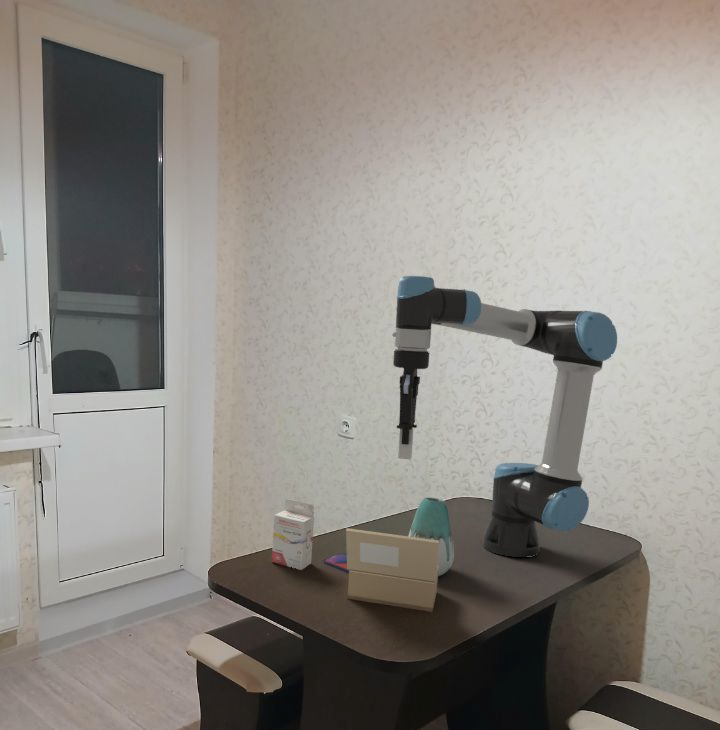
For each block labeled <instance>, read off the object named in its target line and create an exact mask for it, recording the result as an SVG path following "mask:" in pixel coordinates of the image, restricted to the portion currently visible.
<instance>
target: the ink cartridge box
mask: <svg viewBox="0 0 720 730" xmlns="http://www.w3.org/2000/svg"><path fill="white" fill-rule="evenodd" d="M296 506H300V507H303V508H299V507H296ZM314 508H315V506H314V504H312V503H309V502H306V501H305V502H304V501H299V500H295V499H291V498H285V501H284V509H283V510H282V511H280V512H278V513H275V514H274V519H273V520H274V521H273V534H272V546H271V547H272V551H271V563H275V564H278V565H282V566H283V567H284V566H285V567H288V568H291V567H292V568H291V569H295V568H296V569H295V570H299V571H303V570H304V569H305V568H306V567H308V566H309V565H311V563H312V555H313V554H312V553H313V540H314V527H315V526H314V524H315V517H314V514H315V513H314V510H315V509H314Z"/></svg>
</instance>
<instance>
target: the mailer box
mask: <svg viewBox="0 0 720 730" xmlns="http://www.w3.org/2000/svg"><path fill="white" fill-rule="evenodd" d="M438 567H439V566H438ZM438 578H439V576H438V568H437V581H438V580H439V579H438ZM347 586H348V587H347V600H353V601H358V602H359V601H361V602H365V603H366V602H367V603H371V604H372V603H373V604H378V605H385V606H392V607H399V608H404V609H411V610H416V611H417V610H418V611H422V612H429V613H433V611H434V608H435V607H434V606H435V601H436V596H437V591H438V582H437V583H436V582H435V583H431V582H424V581H417V580H410V579H404V578H397V577H390V576H383V575H376V574H370V573H363V572H356V571H349V573H348V585H347Z"/></svg>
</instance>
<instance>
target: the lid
mask: <svg viewBox="0 0 720 730" xmlns="http://www.w3.org/2000/svg"><path fill="white" fill-rule="evenodd" d="M345 538H346V539H345V544H346V545H345V546H346V555H347V569H348V570H349V571H356V572H363V573H370V574H376V575H383V576H390V577H397V578H404V579H410V580H417V581H424V582H431V583H435V582H436V583H437V584H438V580H437V568H438V547H439V541H438V540H431V539H423V538H416V537H408V535H401V534H393V533H392V534H391V533H385V532H377V531H371V530H363V529H362V530H361V529H355V528H349V527H346V529H345Z"/></svg>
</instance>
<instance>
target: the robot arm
mask: <svg viewBox="0 0 720 730" xmlns="http://www.w3.org/2000/svg"><path fill="white" fill-rule="evenodd" d="M397 287H398V288H397V294H396V314H395V315H396V319H395V332H393V333H392V337H394V338H395V339H394V346H395V347H396V349H395V350H394V351H393V366H394V367H395V368H399V369H400V368H402V369H403V372H402V375H401V376H400V377H399V390H400V391H399V418H398V419H399V421H398V424H397V425H396V429H399V439H398V457H397V459H402V460H411V459H412V457H413V456H412V455H413V444H414V443H413V439H414V429H417V428H418V424H415V422H416V411H417V410H416V408H417V396H418V395H419V394H418V393H419V384H421V383H420V382H421V376H418V370H426V369H428V368H429V366H430V365H429V362H430V352H429V351H428V350H429V349H430V348H431V339H432V338H431V337H432V325H437V326H441V327H445V328H451V329H456V330H461V331H466V332H470V333H476V334H481V335H487V336H491V337H497V338H500V339H506V340H510V341H512V343H513V344H514V345H516V346H519V347H525V348H527V349H531V350H533V351H534V350H535V351H536V352H537V351H538V352H541V353H544V354H548V355H552V356H553V357H552V362H553V364H554V365H555V367H556V369H557V372H556V373H557V374H556V377H555V378H556V379H555V383H554V384H555V385H554V389H553V394H552V395H553V396H552V402H551V405H550V406H551V407H550V412H549V417H548V418H549V419H548V425H547V430H546V437H545V442H544V447H543V454H542V459H541V463H540V464H535V463H525V462H506V463H500V464H498V465H497V466H495V469H494V470H495V471H494V476H493V486H492V503H491V516H490V519H489V521H488V522H487V523H488V524H487V525H486V528H485V530H484V533H483V535H482V542H481V543H482V547H483V548H484V547H485V548H484V549H486V550H487V551H489V552H491V553H493V554H495V553H496V554H495V555H498V554H500V555H499V556H502V555H505V556H504V557H507V556H514V557H527V556H533V555H536V554H538V553H539V551H540V552H541V542H540V541H541V540H540V537H539V533H538V529H537V524H536V523H539V524H541V525H543V526H544V527H545V528H548V529H553V530H555V531H558V532H561V533H562V532H569V531H572V530H574V529H575V528H577V527H578V525H580V524H581V523H582V522H583V521H584V519H585V518H586V516H587V514H588V510H589V506H590V505H589V504H590V499H589V497H588V493H587V492H586V491H585V490H584V488H582V484H583V477H582V475H581V474H580V473H579V471H578V469H579V468H578V467H579V462H580V456H581V451H582V446H583V445H582V444H583V439H584V435H585V434H584V433H585V427H586V422H587V417H588V411H589V407H590V406H589V405H590V400H591V393H592V387H593V382H594V376H595V375H596V374H597V373H599V372H600V371H601V370H602V369H603V363H604V361H607V360H608V359H609V360H610V358H611V357H612V355H614V354H615V352H616V350H617V347H618V333H617V329H616V326H615V325H614V324H613V321H612V319H610V317H609V316H607V315H606V314H604V313H602V312H597V311H590V310H531V309H527V308H522V309H520V310H518V311H517V310H514V309H509V308H505V307H501V306H496V305H492V304H487V303H482V300H481V296H479V295H478V293H477V292H475V291H473V290H467V289H455V288H441V287H440V288H439V287H436V286H435V280H434V278H433V277H430V276H421V275H405V276H402V277H401V278H400V279H399V281H398V286H397ZM539 554H540V553H539ZM539 554H538V555H539Z"/></svg>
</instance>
